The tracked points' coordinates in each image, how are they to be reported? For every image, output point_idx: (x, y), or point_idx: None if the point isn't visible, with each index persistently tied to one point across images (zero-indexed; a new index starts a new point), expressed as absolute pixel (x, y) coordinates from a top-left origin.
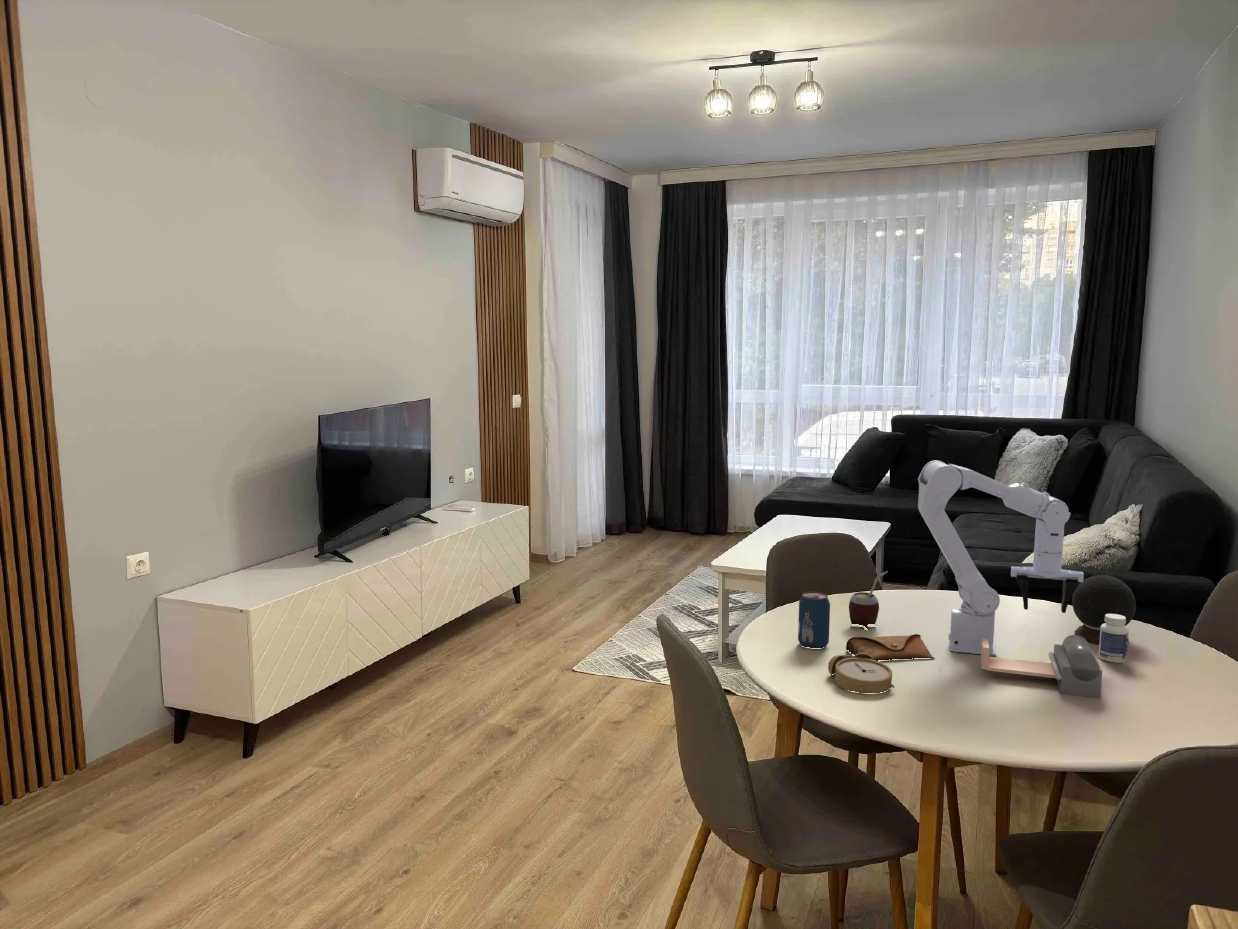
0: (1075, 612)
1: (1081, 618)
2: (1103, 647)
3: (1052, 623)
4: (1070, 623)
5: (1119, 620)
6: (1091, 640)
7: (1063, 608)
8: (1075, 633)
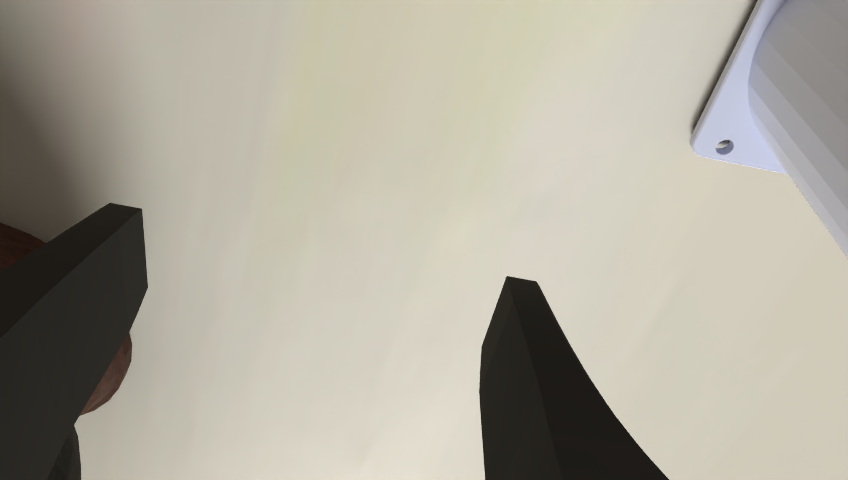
0: (69, 445)
1: None
2: None
3: (221, 471)
4: (139, 475)
5: None
6: None
7: (106, 231)
8: (121, 345)
